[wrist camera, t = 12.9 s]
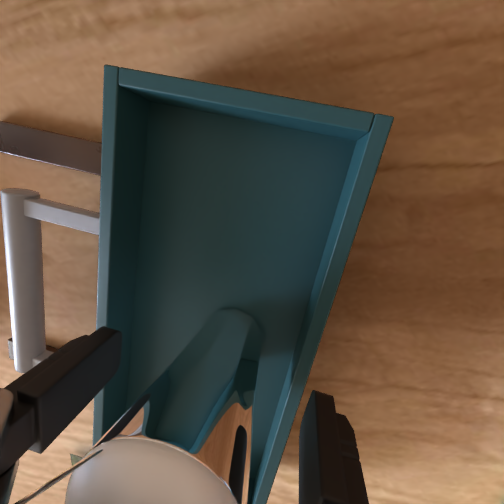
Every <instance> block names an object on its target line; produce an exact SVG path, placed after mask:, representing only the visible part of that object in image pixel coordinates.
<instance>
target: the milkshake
mask: <svg viewBox="0 0 504 504" xmlns="http://www.w3.org/2000/svg"><path fill="white" fill-rule="evenodd" d="M262 338H263V332H262V330H261V329H260V327H259V325H258V324H257V322H256V321H255V319H254V318H253V316H251V315H249V314H247V313H244V312H242V311H240V310H238V309H236V308H232V309H225V310H218V311H215V312H214V314H213V315H212V316H211V317H210V318H209V319H208V320H207V321H206V322H205V323H204V324H203V326H202V327H201V328H200V329H199V330H198V331H197V333H196V334H195V335H194V336H193V337H192V339H191V340H190V341H189V342H188V343H187V344H186V346H185V347H184V348H183V349H182V350H181V352H180V353H179V354H178V355H177V356H176V357H175V359H174V360H173V361H172V362H171V363H170V365H169V366H168V367H167V368H166V369H165V370H164V372H163V373H162V374H161V375H160V376H159V377H158V378H157V379H156V380H155V381H154V382H153V383H152V384H151V385H150V386H149V387H148V388H147V389H146V390H145V391H144V392H143V393H142V394H141V395H140V396H139V397H138V399H137V400H136V401H135V402H134V403H133V404H132V405H131V406H130V407H129V408H128V409H127V410H126V412H125V413H124V414H123V415H122V416H121V417H120V418H119V419H118V420H117V421H116V422H115V424H114V425H113V426H112V427H111V428H110V429H109V430H108V431H107V432H106V433H105V434H104V435H103V437H102V438H101V439H100V440H99V441H98V442H97V443H96V444H95V445H94V446H93V448H92V449H91V450H90V451H89V452H88V453H87V454H86V455H85V456H84V457H83V458H82V459H81V460H80V461H79V462H77V463H76V464H74V465H73V466H71V467H70V468H68V469H67V470H65V471H64V472H62V473H61V474H59V475H58V476H56V477H55V478H53V479H51V480H50V481H48V482H47V483H45V484H44V485H42V486H41V487H39V488H38V489H36V490H35V491H33V492H32V493H30V494H28V495H27V496H25V497H24V498H22V499H21V500H19V501H18V502H16V503H15V504H26V503H27V502H29V501H30V500H32V499H33V498H35V497H36V496H37V495H39V494H40V493H42V492H43V491H45V490H46V489H48V488H49V487H51V486H52V485H54V484H55V483H57V482H58V481H60V480H61V479H63V478H64V477H66V476H67V475H69V474H70V473H72V472H73V473H72V475H71V477H70V480H69V483H68V487H67V492H66V499H65V504H247V500H248V488H249V476H250V464H251V451H252V436H253V415H254V407H255V399H256V391H257V383H258V375H259V367H260V359H261V350H262Z"/></svg>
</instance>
